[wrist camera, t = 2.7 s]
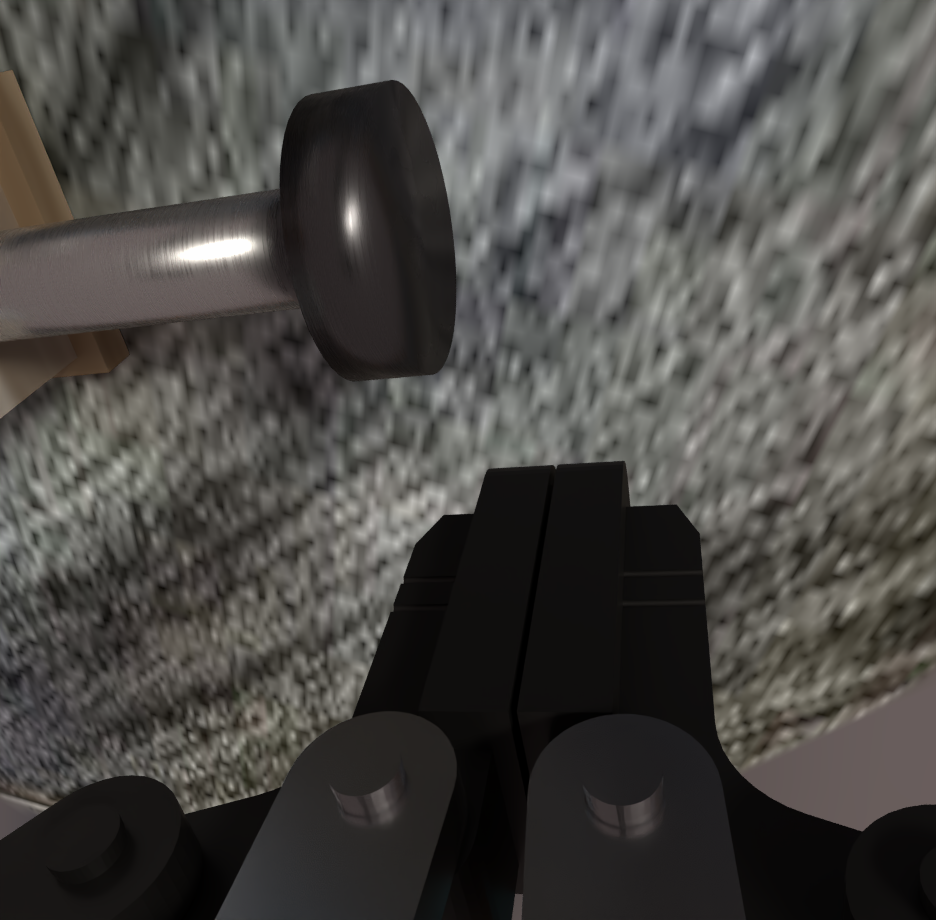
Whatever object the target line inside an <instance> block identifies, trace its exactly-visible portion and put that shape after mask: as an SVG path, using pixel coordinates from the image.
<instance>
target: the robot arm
mask: <svg viewBox="0 0 936 920" xmlns="http://www.w3.org/2000/svg"><path fill="white" fill-rule="evenodd" d="M515 894H523V902H522V920H936V805H919V806H912V807H906V808H903V809H900V810H897V811H894V812H891V813H888V814H886V815H885V816H883V817H881V818H879V819H877V820H876V821H874V822H873V823H872V824H871V825H869V826H868V827H867V828H866V829H865V830H864V831H863V832H862V831H858V830H855V829H852V828H849V827H846V826H842V825H839V824H836V823H833V822H830V821H827V820H824V819H820V818H817V817H814V816H811V815H808V814H805V813H802V812H800V811H797V810H794V809H792V808H789V807H787V806H785V805H783V804H781V803H779V802H777V801H775V800H773V799H772V798H770V797H768V796H767V795H765V794H764V793H762V792H761V791H759V790H758V789H757V788H755V787H754V786H753V785H752V784H751V783H749V782H748V781H747V780H746V779H745V778H744V777H743V776H742V775H741V774H740V773H739V772H738V771H737V769H736V768H735V767H734V766H733V765H732V764H731V762H730V761H729V759H728V757H727V756H726V754H725V752H724V751H723V749H722V746H721V744H720V741H719V739H718V736H717V731H716V725H715V716H714V704H713V692H712V679H711V667H710V655H709V643H708V630H707V618H706V606H705V594H704V581H703V570H702V557H701V545H700V533H699V532H698V531H697V530H696V528H695V527H694V526H693V525H692V523H691V522H690V521H689V520H688V518H687V517H686V516H685V515H684V513H683V512H682V511H681V510H680V508H679V507H678V506H677V505H656V506H633V507H630V498H629V487H628V477H627V470H626V464H625V461H614V462H596V463H578V464H560V465H558V466H557V469H555V467H554V465H547V466H529V467H511V468H494V469H488V470H487V472H486V474H485V477H484V481H483V484H482V488H481V491H480V495H479V498H478V502H477V505H476V509H475V512H474V514H458V515H443V516H442V517H441V518H440V520H439V521H438V522H437V523H436V524H435V525H434V526H433V527H432V528H431V529H430V530H429V531H428V532H427V533H426V534H425V535H424V536H423V537H422V538H421V539H420V540H419V541H418V542H417V543H416V544H415V547H414V550H413V552H412V555H411V558H410V561H409V563H408V566H407V569H406V572H405V574H404V584H401V585H400V588H399V591H398V594H397V596H396V599H395V602H394V612H391V613H390V616H389V618H388V621H387V624H386V627H385V629H384V632H383V635H382V637H381V640H380V643H379V646H378V648H377V651H376V654H375V657H374V659H373V662H372V665H371V668H370V670H369V673H368V676H367V679H366V681H365V684H364V687H363V690H362V692H361V695H360V698H359V701H358V703H357V706H356V709H355V712H354V714H353V717H352V718H351V719H349V720H346V721H344V722H341V723H340V724H338V725H336V726H334V727H332V728H330V729H329V730H327V731H326V732H324V733H323V734H322V735H320V736H319V737H317V738H316V739H315V740H314V741H313V742H312V743H311V744H310V745H309V746H307V747H306V748H305V750H304V751H303V752H302V753H301V754H300V756H299V757H298V758H297V759H296V761H295V762H294V764H293V766H292V767H291V769H290V771H289V773H288V775H287V777H286V779H285V781H284V783H283V785H282V787H279V788H277V789H275V790H272V791H269V792H266V793H263V794H260V795H257V796H253V797H249V798H245V799H241V800H238V801H234V802H230V803H226V804H222V805H218V806H215V807H211V808H207V809H203V810H199V811H196V812H192V813H188V814H184V812H183V810H182V808H181V806H180V804H179V803H178V801H177V799H176V797H175V795H174V794H173V792H172V791H171V790H170V789H169V788H168V787H167V786H166V785H164V784H163V783H161V782H159V781H157V780H155V779H152V778H148V777H145V776H133V775H131V776H119V777H114V778H109V779H105V780H102V781H99V782H96V783H93V784H90V785H88V786H86V787H84V788H81V789H79V790H77V791H75V792H73V793H72V794H70V795H68V796H67V797H65V798H63V799H62V800H60V801H58V802H57V803H55V804H54V805H52V806H51V807H49V808H48V809H46V810H45V811H43V812H42V813H40V814H39V815H37V816H36V817H34V818H33V819H32V820H30V821H28V822H27V823H25V824H24V825H23V826H21V827H19V828H18V829H16V830H15V831H13V832H12V833H11V834H9V835H7V836H6V837H4V838H3V839H2V840H0V920H512V912H513V905H514V897H515Z"/></svg>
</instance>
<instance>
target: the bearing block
mask: <svg viewBox="0 0 936 920" xmlns="http://www.w3.org/2000/svg"><path fill="white" fill-rule="evenodd" d="M67 220H74V218H73V216H72V213H71V211H70V209H69V206H68V204H67V201H66V199H65V196H64V194H63V192H62V189H61V187H60V184H59V182H58V180H57V177H56V175H55V172H54V170H53V167H52V165H51V163H50V160H49V158H48V155H47V153H46V150H45V148H44V146H43V143H42V141H41V138H40V136H39V133H38V131H37V129H36V126H35V124H34V121H33V119H32V117H31V114H30V112H29V109H28V107H27V104H26V102H25V100H24V97H23V95H22V92H21V90H20V87H19V85H18V83H17V80H16V78H15V75H14V73H13V70H10V71H5V72H0V230H7V229H14V228H20V227H27V226H34V225H40V224H47V223H54V222H61V221H67ZM129 355H130V354H129V352H128V349H127V347H126V344H125V342H124V339H123V337H122V335H121V332H120V330H119V329H112V330H103V331H94V332H85V333H76V334H67V335H59V336H50V337H41V338H32V339H23V340H14V341H5V342H0V418H2V417H3V416H4V415H5V414H7V413H8V412H9V411H10V410H12V409H13V408H14V407H16V406H17V405H18V404H19V403H21V402H22V401H23V400H24V399H26V398H27V397H28V396H29V395H31V394H32V393H33V392H34V391H36V390H37V389H38V388H39V387H41V386H42V385H43V384H45V383H46V382H47V381H48V380H50V379H51V378H57V377H67V376H77V375H87V374H98V373H108V372H110V371H111V370H112V369H114V368H115V367H116V366H117V365H118V364H119V363H120V362H122V361H123V360H124V359H125V358H126V357H127V356H129Z"/></svg>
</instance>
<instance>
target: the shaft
mask: <svg viewBox="0 0 936 920" xmlns="http://www.w3.org/2000/svg"><path fill="white" fill-rule="evenodd" d="M299 308H301V311H302V314H303V317H304V319H305V322H306V324H307V327H308V329H309V331H310V333H311V336H312V338H313V340H314V342H315V344H316V346H317V347H318V349H319V351H320V352H321V354H322V356H323V357H324V359H325V360H326V361H327V362H328V364H329V365H330V366H331V368H332V369H333V370H334V371H336V372H337V373H338V374H339V375H340V376H342V377H343V378H345V379H347V380H350V381H366V380H378V379H389V378H400V377H412V376H423V375H434V374H436V373H438V372H439V371H440V370H441V369H442V367H443V366H444V364H445V362H446V360H447V357H448V355H449V352H450V348H451V344H452V339H453V333H454V325H455V314H456V264H455V250H454V239H453V231H452V223H451V216H450V209H449V204H448V198H447V192H446V188H445V183H444V178H443V174H442V170H441V166H440V162H439V158H438V155H437V151H436V148H435V144H434V141H433V138H432V135H431V132H430V130H429V127H428V125H427V122H426V120H425V117H424V115H423V113H422V111H421V109H420V107H419V105H418V103H417V101H416V100H415V98H414V96H413V95H412V94H411V92H410V91H409V90H408V89H407V88H406V87H405V86H404V85H403V84H402V83H400V82H399V81H395V80H389V81H383V82H378V83H372V84H366V85H361V86H355V87H349V88H344V89H338V90H332V91H327V92H321V93H315V94H311V95H308V96H305V97H304V98H303V99H301V100H300V101H299V102H298V103H297V105H296V106H295V108H294V109H293V111H292V113H291V116H290V118H289V120H288V123H287V127H286V130H285V134H284V139H283V145H282V152H281V163H280V189H275V190H268V191H261V192H255V193H248V194H241V195H235V196H228V197H221V198H214V199H208V200H201V201H194V202H188V203H181V204H174V205H168V206H161V207H154V208H148V209H141V210H134V211H127V212H121V213H114V214H107V215H101V216H94V217H87V218H81V219H74V220H67V221H61V222H54V223H47V224H40V225H34V226H27V227H20V228H14V229H7V230H0V342H5V341H14V340H23V339H32V338H41V337H50V336H59V335H67V334H76V333H85V332H94V331H103V330H112V329H121V328H130V327H139V326H148V325H157V324H166V323H174V322H183V321H192V320H201V319H210V318H219V317H228V316H237V315H246V314H255V313H264V312H272V311H281V310H290V309H299Z"/></svg>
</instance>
